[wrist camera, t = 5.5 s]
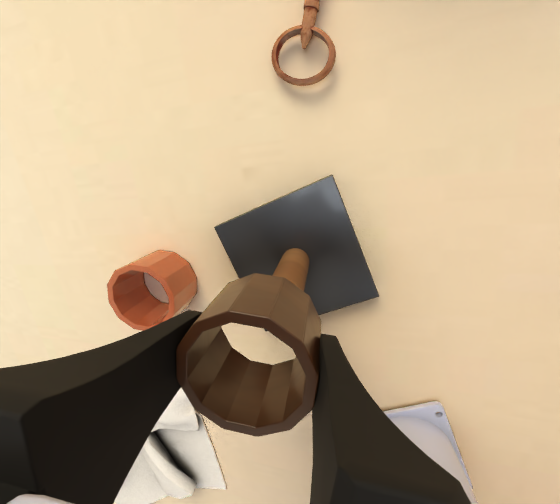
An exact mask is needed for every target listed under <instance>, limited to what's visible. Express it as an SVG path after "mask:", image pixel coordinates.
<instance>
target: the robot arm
mask: <svg viewBox="0 0 560 504" xmlns="http://www.w3.org/2000/svg"><path fill="white" fill-rule="evenodd" d="M201 314H202V312H197V311H192V310H188V311H186V312H183V313H181V314H179V315H177V316H174V317H172V318H170V319H168V320H166V321H164V322H162V323H159V324H157V325H155V326H153V327H151V328H149V329H146V330H144V331H141V332H139V333H137V334H134V335H132V336H130V337H127V338H125V339H122V340H119V341H117V342H114V343H111V344H108V345H105V346H102V347H99V348H95V349H92V350H88V351H85V352H81V353H77V354H73V355H70V356H66V357H62V358H57V359H53V360H48V361H43V362H38V363H32V364H27V365H21V366H14V367H7V368H0V504H113V503H114V501H115V499H116V497H117V495H118V493H119V491H120V489H121V487H122V485H123V483H124V481H125V479H126V477H127V475H128V473H129V471H130V470H131V468H132V466H133V464H134V462H135V460H136V458H137V456H138V455H139V453H140V451H141V449H142V447H143V446H144V444H145V442H146V440H147V438H148V437H149V435H150V433H151V431H152V429H153V428H154V426H155V425H156V423H157V421H158V420H159V418H160V417H161V415H162V414H163V412H164V411H165V409H166V408H167V407H168V405H169V404H170V402H171V401H172V399H173V398H174V396H175V395H176V394H177V392H178V391H179V389H180V388H181V386H180V384H179V383H178V381H177V372H176V348H177V346H178V344H179V343H180V342H181V340H182V339H183V337H184V336H185V335H186V333H187V332H188V330H189V329H190V328H191V326H192V325H193V323H194V322H195V321H196V320H197V319H198V317H199V316H200V315H201ZM319 356H320V370H319V381H318V387H317V393H316V398H315V404H314V408H313V409H312V422H313V469H312V483H311V498H310V504H478V502H477V500H476V498H475V495H474V493H473V491H472V489H473V487H472V484H471V481H470V478H469V476H468V473H467V470H466V468H465V465H464V462H463V459H462V457H461V454H460V451H459V449H458V446H457V443H456V440H455V438H454V435H453V432H452V429H451V427H450V424H449V421H448V419H447V416H446V413H445V410H444V408H443V406H442V404H441V403H440V402H438V401H432V402H427V403H422V404H417V405H412V406H407V407H403V408H398V409H393V410H388V411H382V410H381V409H380V408H379V406H378V405H377V404H376V403H375V401H374V400H373V399H372V397H371V396H370V395H369V393H368V392H367V391H366V389H365V388H364V386H363V385H362V383H361V382H360V380H359V379H358V377H357V375H356V374H355V372H354V370H353V369H352V367H351V365H350V364H349V362H348V360H347V358H346V356H345V354H344V352H343V350H342V348H341V346H340V344H339V341H338V339H337V338H336V336H332V335H326V334H321V335H320V351H319ZM437 412H440V413H437Z"/></svg>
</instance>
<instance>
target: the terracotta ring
mask: <svg viewBox="0 0 560 504" xmlns="http://www.w3.org/2000/svg"><path fill="white" fill-rule="evenodd" d="M143 272H146V273H148V274H149V275H151V276H152V277H153V278H155V279H156V280H158V281H159V282H160V283H161V284H162V286H163V288H164V290H165V292H166V293H167V295H168V297H169V304H167V303H162V302H160V301H159V300H157V299H156V298H155V297H153V296H152V295H151V294H150V292H149V291H148V289H147V287H146V285H145V284H144V273H143ZM107 288H108V299H109V303H110V305H111V307H112V308H113V310H114V311H115V313H116V315H117V316H118V318H119V319H121V320H122V321H123V322H125V323H126V324H128V325H129V326H130V327H132V328H133V329H137V330H142V331H144V330H146V329H149V328H151V327H153V326H155V325H157V324H159V323H162V322H164V321H166V320H168V319H170V318H172V317H174V316H177V315H179V314H180V313H181V312H182V311H183V310H184V309H185V308H186V307H187V306H188V305H189V304H190V302H191V301H192V299H193V298H194V296H195V295H196V293H197V278H196V275H195V274H194V272H193V270H192V268H191V266H190V264H189V263H188V262H187V261H186V260H184V259H183V258H182V257H180V256H179V255H178V254H176V253H174V252H168V251H162V250H157V251H155V252H153V253H151V254H148V255H146V256H144V257H142V258H140V259H138V260H136V261H134V262H132V263H129V264H127V265H125V266H123V267H121V268H119V269H117V270H115V271H114V273H113V275H112V277H111V279H110V280H109V282H108V284H107Z"/></svg>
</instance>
